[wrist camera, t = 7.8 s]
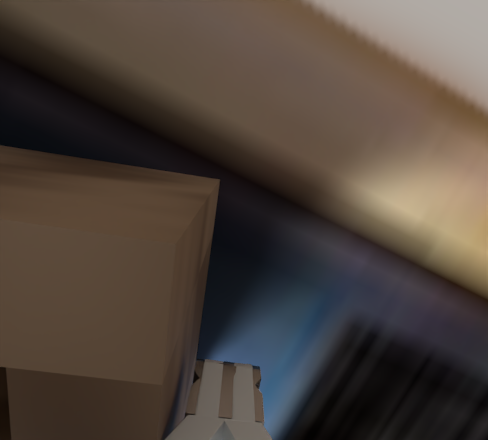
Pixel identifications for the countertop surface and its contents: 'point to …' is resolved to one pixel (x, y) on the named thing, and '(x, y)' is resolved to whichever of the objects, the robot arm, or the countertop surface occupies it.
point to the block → (99, 296)
